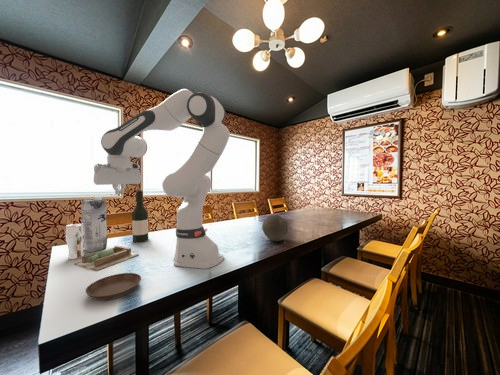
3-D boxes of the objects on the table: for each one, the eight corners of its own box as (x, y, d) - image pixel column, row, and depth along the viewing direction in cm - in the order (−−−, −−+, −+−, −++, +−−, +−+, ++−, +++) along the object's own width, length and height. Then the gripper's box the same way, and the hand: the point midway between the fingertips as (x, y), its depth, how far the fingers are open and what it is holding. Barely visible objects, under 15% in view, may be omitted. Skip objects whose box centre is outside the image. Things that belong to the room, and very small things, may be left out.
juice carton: (87, 253, 98) (85, 198, 97) (81, 249, 104) (79, 197, 103) (109, 248, 105) (107, 197, 104) (101, 245, 111) (100, 196, 110)
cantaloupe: (272, 236, 125) (272, 212, 125) (292, 241, 116) (292, 215, 115) (257, 241, 115) (257, 215, 115) (277, 247, 106) (277, 218, 105)
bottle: (115, 252, 90) (93, 259, 81) (112, 259, 91) (90, 267, 82) (109, 245, 91) (87, 252, 83) (106, 253, 92) (84, 260, 84)
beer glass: (89, 255, 96) (88, 224, 95) (72, 260, 89) (71, 227, 89) (80, 253, 98) (78, 223, 98) (62, 258, 92) (61, 226, 91)
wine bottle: (151, 238, 123) (150, 189, 122) (142, 242, 115) (141, 190, 114) (138, 238, 124) (137, 189, 123) (129, 242, 116) (127, 190, 115)
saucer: (134, 275, 75) (134, 268, 75) (147, 291, 64) (146, 283, 64) (83, 290, 65) (83, 282, 65) (88, 312, 54) (87, 302, 54)
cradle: (138, 255, 95) (138, 247, 95) (96, 270, 79) (96, 261, 79) (117, 250, 102) (116, 243, 102) (74, 264, 85) (74, 255, 85)
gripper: (98, 162, 84) (99, 195, 84) (142, 165, 102) (143, 193, 103) (89, 163, 86) (90, 195, 87) (134, 166, 105) (135, 192, 105)
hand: (119, 194), depth 95 cm, fingers closed
